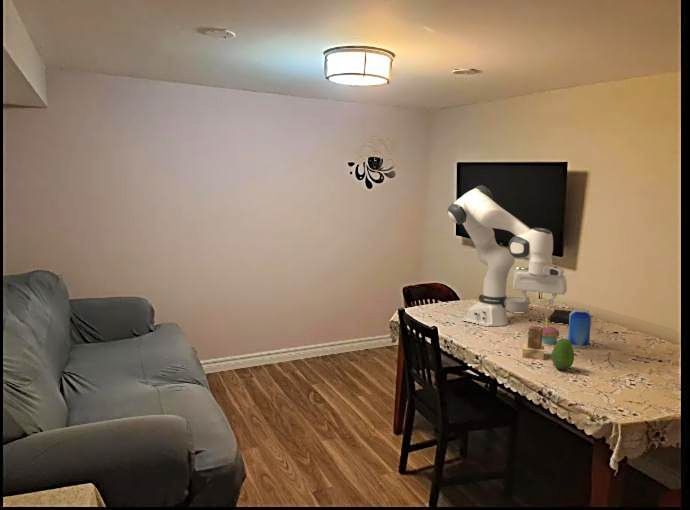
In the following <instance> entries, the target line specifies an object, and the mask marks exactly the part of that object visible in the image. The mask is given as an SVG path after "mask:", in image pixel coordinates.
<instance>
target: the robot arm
mask: <svg viewBox="0 0 690 510" xmlns="http://www.w3.org/2000/svg"><path fill="white" fill-rule="evenodd" d="M447 214H448V217H449V219H450V220H451V221H452V222H453V223H455V225H462V226H463V227H464V229H465V231H466V233H467V234H468V236H469V237H470V239H471V241H472V242H473V245H474V248H475V249H476V250H475V251H476V252H477V257H478V260H479V261H480V262H481V263H482V264H483V265H485V266H487V268H488V269H487V272H486V274H485V276H484V277H483V282H482V284H483V285H482V293H480V295H478V298H477V299H478V301H477V302H475V303H474V304H473V305H471V306H470V307H469V308H468V309H467V310H466V311H467V312H466V315H464V316H463V317H462V318H461V321H462V320H463V321H462V322H464V321H468V322H472V323H471V324H473V323H476V324H475V325H478V324H479V326H483V327H488V326H489V327H498V326H499V327H501V326H506V325H508V324H509V322H508V317H507V310H506V304H507V297H508V296H507V281H508V277H509V273H510V270H511V268H512V267H513V266H514V264H515V261H516V259H528V267H521V266H518V267H516V268H514V269H513V274H512V275H513V280H512V281H513V282H512V288H513V289H514V290H515V291H521V295H522V297H524V302H529V300H530V297H529V296H528V295H527V294H526V293H527V292H532V293H535V292H536V293H545V294H551V296H552V298H550V299H548V305H553V304H554V300H555V298H557V295H562V296H563V295H565V294H566V293H567V289H568V287H567V279H566V276H565V275H564V274H565V269H564V268H562V267H559V266H557V265H554V264H553V257H552V255H553V252H554V238H553V237H554V236H553V233H552V231H551V230H549V229H547V228H543V227H533V228H532V227H530V226H528V225H527V224H526V223H525V222H523V221H522V220H521V219H520V218H518V217H516V216H515V215H513V214H512V213H510V212H508V211H507V210H505V209H504V208H503V207H502V206H500V205H499V204H498V203H496V202H495V201H494V200H493V195H492V192H491V190H490V189H489V188H488V187H486V185H485V186H484V185H482V184H481V185H478V186H475V187H474V188H473V189H471V190H468V191H467V192H465V193H464V194H463V195H462V196H461V197H459V198H457V200H456V201H455V202H453V203H451V204H450V205H449V206H448V207H447ZM494 229H498V230H503V231H507V232H510V233H512V234H513V235H514V236H513V237H511V239H510V240H509V242H508V248H506V247H503V246H500V245H499V244H498V243H497V241H496V237H495V230H494ZM529 303H530V302H529ZM468 322H467V323H468Z"/></svg>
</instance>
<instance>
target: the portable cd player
mask: <svg viewBox="0 0 690 510" xmlns="http://www.w3.org/2000/svg"><path fill="white" fill-rule="evenodd" d="M571 312H572V310H566V309H565V310H564V309H554V310H553V311H552V312H551V314H550V315H549V316H550V317H549V323H550V322H554V323H553V324H555V323H563V324H568V325H567V326H569V317H570V313H571ZM563 324H562V325H563Z"/></svg>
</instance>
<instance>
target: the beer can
mask: <svg viewBox="0 0 690 510" xmlns="http://www.w3.org/2000/svg"><path fill="white" fill-rule="evenodd" d="M571 311H572V312H571V313H570V317H569V325H568V334H567V335H568V338H567V339H568V340H570V341H571V343H572V347H573V349H574V348H576V349H587V348H588V347H589V346H590V340H591V339H590V337H591V323H592V315H591V313H590V310H589V309H588V308H587V309H586V308H582V307H581V308H580V307H576V308H575V307H574V308H572V310H571Z"/></svg>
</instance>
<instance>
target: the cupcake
mask: <svg viewBox="0 0 690 510" xmlns="http://www.w3.org/2000/svg"><path fill="white" fill-rule="evenodd" d="M548 321H549V320H548V318H547V316H545V326H543V327H542V328H543V334H542V344H544V345H554V344H555V342H556V340H557V338H558V337H559V336H560V332H559V330H558V329H557V328H556V327H554V326H549V323H548Z"/></svg>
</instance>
